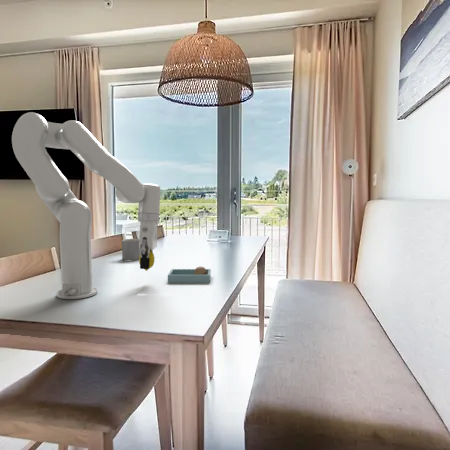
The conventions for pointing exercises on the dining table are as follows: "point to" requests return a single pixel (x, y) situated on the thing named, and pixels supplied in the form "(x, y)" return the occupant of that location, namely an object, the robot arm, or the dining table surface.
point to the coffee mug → (130, 249)
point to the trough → (188, 276)
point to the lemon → (150, 259)
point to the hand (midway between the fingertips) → (146, 266)
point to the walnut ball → (200, 271)
